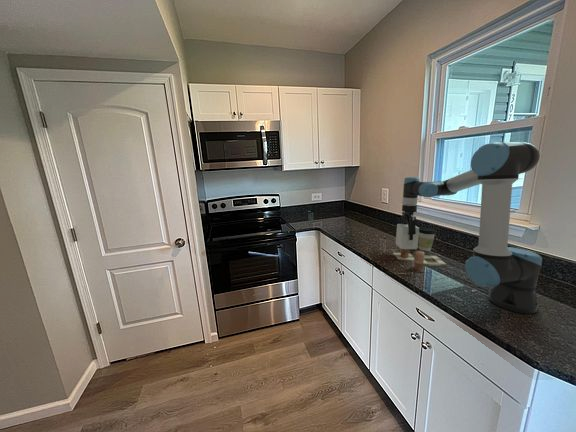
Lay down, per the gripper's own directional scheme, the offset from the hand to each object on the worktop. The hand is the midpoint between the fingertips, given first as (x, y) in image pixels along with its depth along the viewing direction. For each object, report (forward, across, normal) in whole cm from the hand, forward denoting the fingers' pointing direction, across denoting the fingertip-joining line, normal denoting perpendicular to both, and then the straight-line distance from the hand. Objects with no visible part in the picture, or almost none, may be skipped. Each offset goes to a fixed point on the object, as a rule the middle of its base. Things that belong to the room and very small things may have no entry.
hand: (406, 242), depth 145 cm
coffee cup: (+11, +13, -17) cm, 24 cm away
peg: (+11, -16, -1) cm, 19 cm away
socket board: (+11, -6, -11) cm, 17 cm away
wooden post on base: (+11, +1, 0) cm, 11 cm away
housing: (+3, 0, 0) cm, 3 cm away
